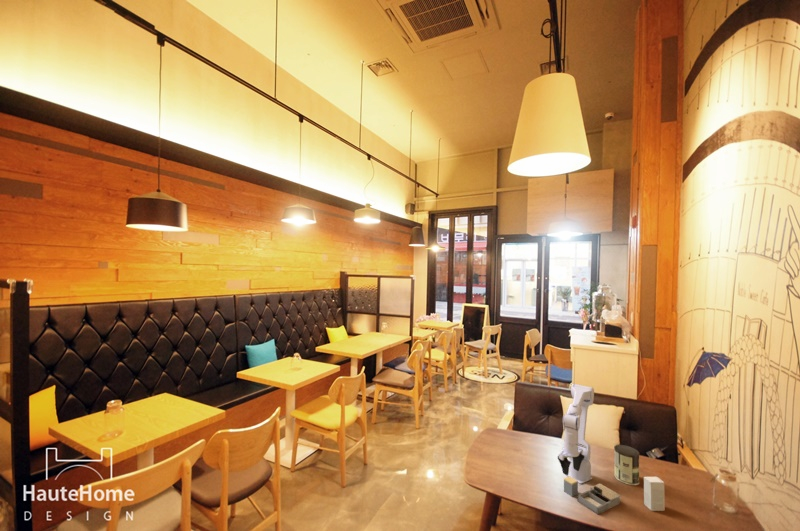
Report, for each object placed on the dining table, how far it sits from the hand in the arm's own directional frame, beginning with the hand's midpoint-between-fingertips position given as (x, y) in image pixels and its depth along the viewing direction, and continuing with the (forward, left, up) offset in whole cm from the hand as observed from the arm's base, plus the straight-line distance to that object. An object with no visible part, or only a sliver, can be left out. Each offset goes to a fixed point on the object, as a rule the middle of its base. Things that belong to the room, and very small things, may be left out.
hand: (570, 472), depth 151 cm
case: (-5, +9, -9) cm, 14 cm away
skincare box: (-24, +22, -10) cm, 34 cm away
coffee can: (-35, +5, -10) cm, 37 cm away
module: (0, 0, -10) cm, 10 cm away
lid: (-10, +9, -6) cm, 15 cm away
